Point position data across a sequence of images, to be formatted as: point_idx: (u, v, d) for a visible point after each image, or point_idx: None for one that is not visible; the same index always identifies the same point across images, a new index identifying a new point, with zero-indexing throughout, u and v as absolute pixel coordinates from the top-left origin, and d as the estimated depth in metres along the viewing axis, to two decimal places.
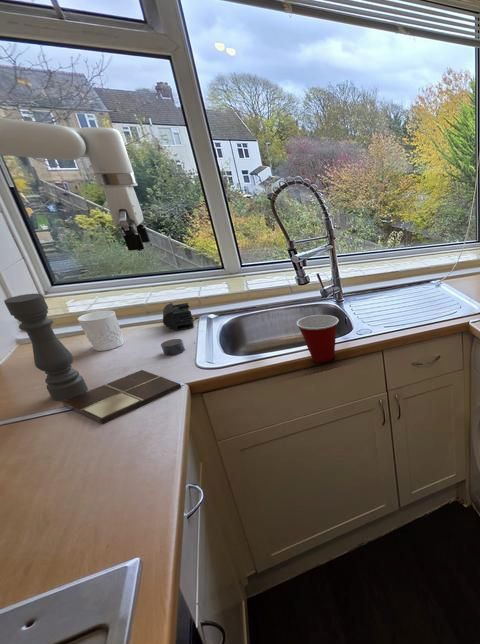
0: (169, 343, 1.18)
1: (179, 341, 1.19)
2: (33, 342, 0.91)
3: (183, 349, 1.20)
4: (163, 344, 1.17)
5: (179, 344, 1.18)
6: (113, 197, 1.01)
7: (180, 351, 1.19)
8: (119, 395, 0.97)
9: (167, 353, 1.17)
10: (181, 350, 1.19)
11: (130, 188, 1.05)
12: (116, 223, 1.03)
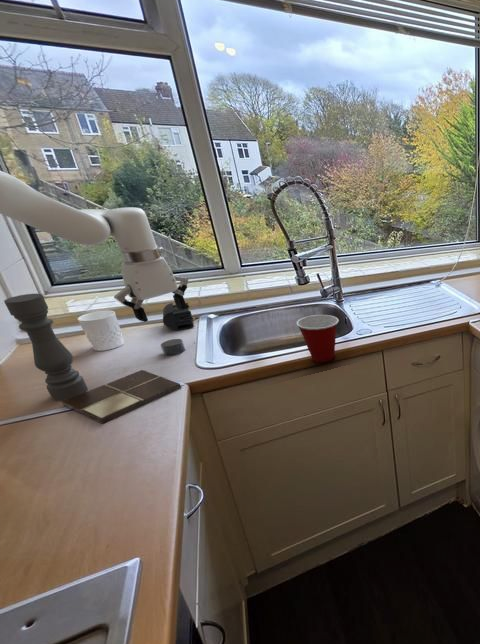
0: (169, 343, 1.18)
1: (179, 341, 1.19)
2: (33, 342, 0.91)
3: (183, 349, 1.20)
4: (163, 344, 1.17)
5: (179, 344, 1.18)
6: (123, 273, 1.06)
7: (180, 351, 1.19)
8: (119, 395, 0.97)
9: (167, 353, 1.17)
10: (181, 350, 1.19)
11: (141, 265, 1.06)
12: (129, 295, 1.09)
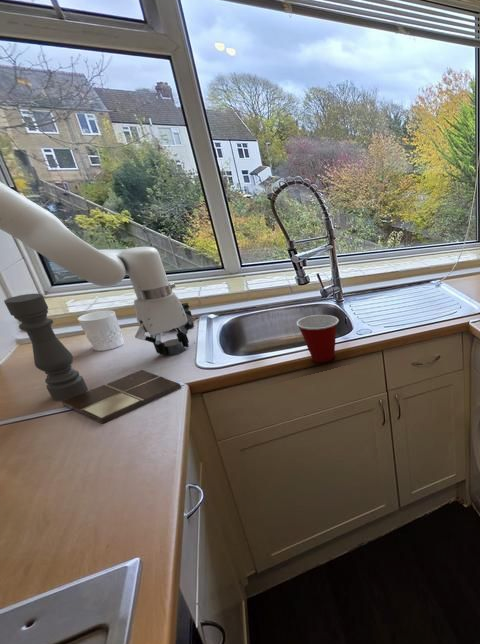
0: (169, 343, 1.18)
1: (179, 341, 1.19)
2: (33, 342, 0.91)
3: (183, 349, 1.20)
4: None
5: (179, 344, 1.18)
6: (136, 309, 1.10)
7: (180, 351, 1.19)
8: (119, 395, 0.97)
9: None
10: (181, 350, 1.19)
11: (153, 302, 1.10)
12: None
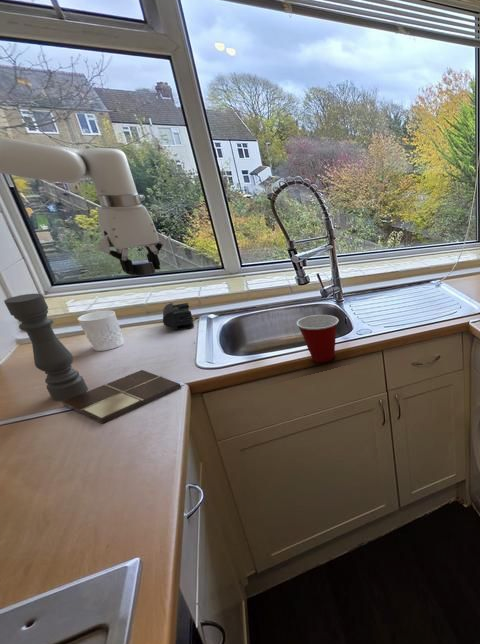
0: (138, 262, 1.07)
1: (149, 261, 1.08)
2: (33, 342, 0.91)
3: (153, 270, 1.09)
4: None
5: (149, 264, 1.08)
6: (99, 218, 0.99)
7: (150, 272, 1.08)
8: (119, 395, 0.97)
9: None
10: (151, 271, 1.08)
11: (119, 211, 1.00)
12: None
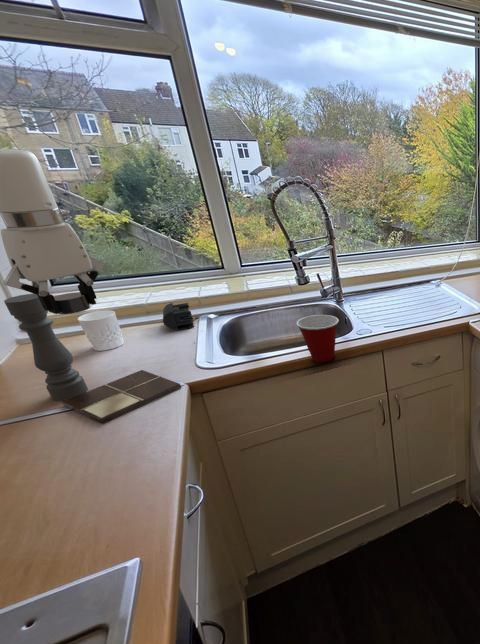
0: (64, 296, 0.83)
1: (80, 295, 0.84)
2: (33, 342, 0.91)
3: (86, 306, 0.85)
4: (55, 298, 0.82)
5: (79, 298, 0.83)
6: (4, 243, 0.75)
7: (81, 309, 0.84)
8: (119, 395, 0.97)
9: (60, 311, 0.82)
10: (83, 307, 0.84)
11: (31, 232, 0.75)
12: None
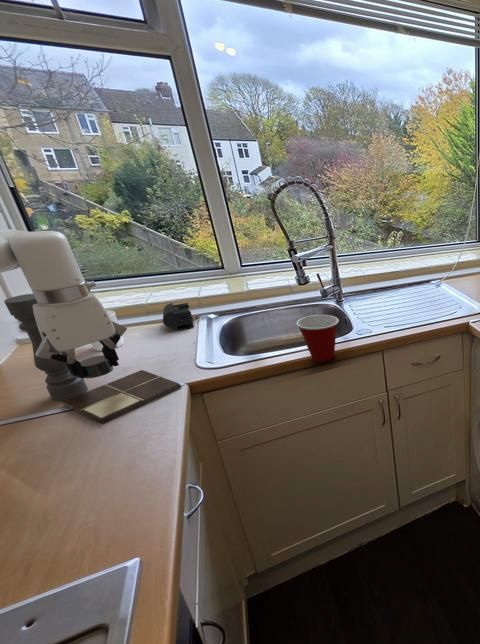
0: (90, 361, 0.88)
1: (104, 359, 0.89)
2: (33, 342, 0.91)
3: (110, 369, 0.90)
4: (81, 363, 0.87)
5: (103, 363, 0.88)
6: (35, 317, 0.80)
7: (105, 372, 0.89)
8: (119, 395, 0.97)
9: (86, 375, 0.87)
10: (107, 371, 0.89)
11: (60, 307, 0.81)
12: None
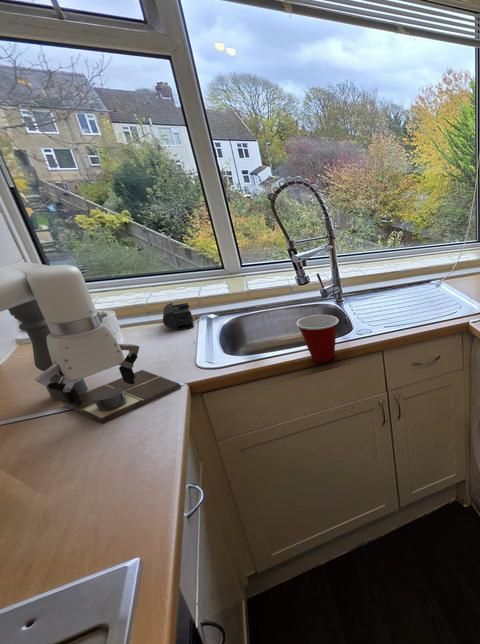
0: (104, 394, 0.92)
1: (118, 392, 0.93)
2: (33, 342, 0.91)
3: (124, 402, 0.93)
4: (96, 397, 0.91)
5: (117, 396, 0.92)
6: (49, 348, 0.83)
7: (119, 405, 0.92)
8: None
9: (101, 408, 0.91)
10: (121, 403, 0.93)
11: (73, 338, 0.83)
12: None
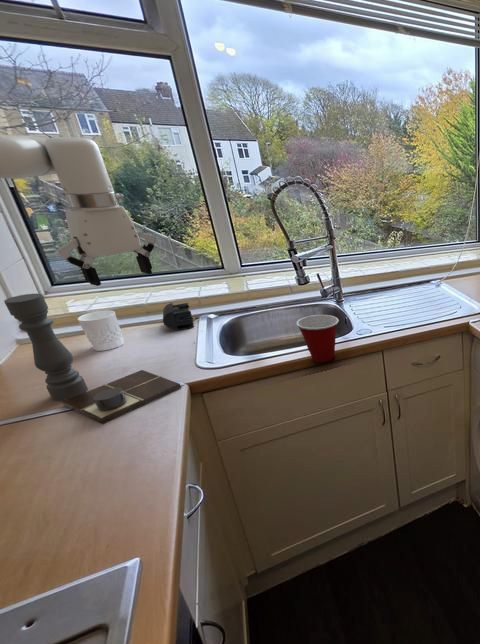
0: (104, 394, 0.92)
1: (118, 392, 0.93)
2: (33, 342, 0.91)
3: (124, 402, 0.93)
4: (96, 397, 0.91)
5: (117, 396, 0.92)
6: (68, 222, 0.83)
7: (119, 405, 0.92)
8: None
9: (101, 408, 0.91)
10: (121, 403, 0.93)
11: (92, 212, 0.84)
12: (76, 251, 0.86)
